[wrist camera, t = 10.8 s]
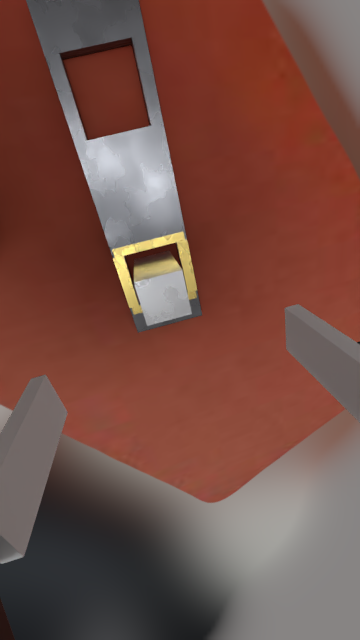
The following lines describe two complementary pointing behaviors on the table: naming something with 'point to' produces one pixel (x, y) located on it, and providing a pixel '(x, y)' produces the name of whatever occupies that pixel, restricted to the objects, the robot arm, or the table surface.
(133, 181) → the rail
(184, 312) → the steel block
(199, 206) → the table surface
